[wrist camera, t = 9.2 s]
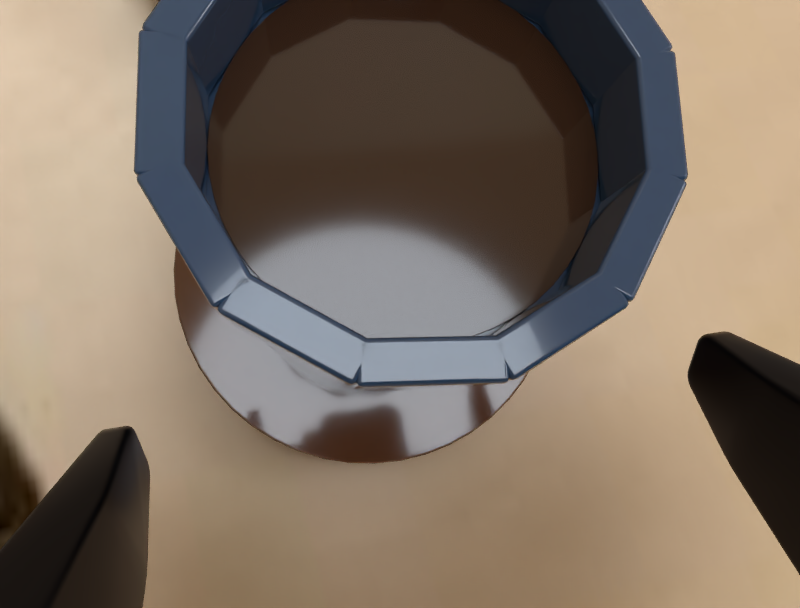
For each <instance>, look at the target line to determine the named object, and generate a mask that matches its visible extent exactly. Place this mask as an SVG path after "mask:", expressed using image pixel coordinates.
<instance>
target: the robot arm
mask: <svg viewBox="0 0 800 608" xmlns="http://www.w3.org/2000/svg"><path fill="white" fill-rule="evenodd" d="M688 381H689V384H690V387H691V389H692V391H693V393H694V395H695V397H696V399H697V401H698V403H699V405H700V407H701V409H702V411H703V413H704V415H705V417H706V419H707V421H708V423H709V425H710V427H711V429H712V431H713V433H714V435H715V437H716V439H717V441H718V443H719V445H720V447H721V449H722V451H723V453H724V455H725V456H726V458H727V460H728V462H729V464H730V466H731V467H732V469H733V471H734V472H735V474H736V476H737V477H738V479H739V480H740V482H741V483H742V485H743V487H744V488H745V490H746V491H747V493H748V494H749V496H750V498H751V499H752V501H753V502H754V504H755V505H756V507H757V509H758V510H759V512H760V513H761V515H762V516H763V518H764V520H765V521H766V523H767V524H768V526H769V527H770V529H771V531H772V532H773V534H774V535H775V537H776V538H777V540H778V542H779V543H780V545H781V546H782V548H783V549H784V551H785V553H786V554H787V556H788V557H789V559H790V560H791V562H792V564H793V565H794V567H795V568H796V570H797V571H798V573H799V575H800V364H798V363H795V362H793V361H791V360H789V359H787V358H785V357H782V356H780V355H778V354H776V353H774V352H771V351H769V350H767V349H765V348H763V347H760V346H758V345H756V344H754V343H752V342H750V341H747V340H745V339H743V338H741V337H739V336H736V335H734V334H732V333H730V332H717V333H711V334H705V335H703V336H702V337H701V338H700V339H699V340H698V343H697V346H696V349H695V351H694V354H693V357H692V360H691V363H690V366H689V369H688ZM149 494H150V471H149V465H148V461H147V459H146V456H145V454H144V452H143V449H142V447H141V444H140V442H139V440H138V437H137V435H136V433H135V431H134V429H133V428H132V427H130V426H123V427H117V428H111V429H105V430H102V431H101V432H100V433H98V434H97V435H96V437H95V438H94V439H93V440H92V441H91V442H90V444H89V445H88V446H87V447H86V448H85V450H84V451H83V452H82V453H81V454H80V456H79V457H78V458H77V459H76V460H75V462H74V463H73V464H72V465H71V466H70V468H69V469H68V470H67V471H66V472H65V473H64V475H63V476H62V477H61V478H60V479H59V481H58V482H57V483H56V484H55V485H54V487H53V488H52V489H51V490H50V491H49V493H48V494H47V495H46V496H45V497H44V498H43V500H42V501H41V502H40V503H39V504H38V506H37V507H36V508H35V509H34V510H33V512H32V513H31V514H30V515H29V516H28V518H27V519H26V520H25V521H24V522H23V523H22V525H21V526H20V527H19V528H18V529H17V531H16V532H15V533H14V534H13V535H12V537H11V538H10V539H9V540H8V541H7V543H6V544H5V545H4V546H3V547H2V548H1V550H0V608H142V607H143V600H144V594H145V586H146V577H147V561H148V528H149Z"/></svg>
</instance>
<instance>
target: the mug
mask: <svg viewBox="0 0 800 608" xmlns="http://www.w3.org/2000/svg"><path fill="white" fill-rule="evenodd" d="M142 29H143V30H141V31H140V32H139V40H138V69H137V98H136V127H135V155H134V172H135V174H136V175H137V182H138V184H139V185H140V187H141V189H142V190H143V192H144V194H145V195H146V197H147V199H148V200H149V202H150V204H151V206H152V207H153V209H154V211H155V212H156V214H157V216H158V217H159V219H160V221H161V222H162V224H163V226H164V228H165V229H166V231H167V233H168V234H169V236H170V238H171V239H172V241H173V243H174V244H175V246H176V252H175V262H174V285H175V298H176V303H177V309H178V314H179V320H180V323H181V326H182V329H183V332H184V335H185V338H186V341H187V344H188V346H189V348H190V350H191V352H192V354H193V356H194V358H195V360H196V362H197V364H198V366H199V368H200V370H201V371H202V373H203V374H204V376H205V377H206V379H207V380H208V381H209V383H210V384H211V386H212V387H213V389H214V390H215V391H216V392H217V393H218V395H219V396H220V397H221V398H222V399H223V400H224V401H225V402H226V403H227V404H228V406H229V407H230V408H231V409H232V410H233V411H235V412H236V413H237V414H238V415H239V416H240V417H242V418H243V419H244V420H245V421H246V422H248V423H249V424H250V425H251V426H253V427H254V428H256V429H257V430H259V431H260V432H262V433H264V434H265V435H267V436H268V437H270V438H272V439H273V440H275V441H277V442H279V443H282V444H284V445H286V446H288V447H290V448H292V449H295V450H297V451H299V452H303V453H306V454H309V455H313V456H316V457H319V458H323V459H328V460H335V461H341V462H347V463H384V462H393V461H401V460H405V459H409V458H413V457H417V456H421V455H425V454H428V453H431V452H433V451H436V450H438V449H441V448H443V447H446V446H448V445H450V444H452V443H454V442H456V441H457V440H459V439H461V438H463V437H464V436H466V435H468V434H470V433H471V432H473V431H474V430H475V429H477V428H478V427H479V426H481V425H482V424H483V423H485V422H486V421H487V420H489V419H490V418H491V417H492V416H493V415H494V414H495V413H496V412H497V411H498V410H499V409H500V408H501V407H502V406H503V405H504V404H505V403H506V402H507V401H508V400H509V399H510V398H511V396H512V395H513V394H514V393H515V391H516V390H517V389H518V387H519V386H520V385H521V383H522V382H523V381H524V379H525V377H526V376H527V374H528V372H529V371H530V370H532V369H533V368H535V367H536V366H538V365H539V364H541V363H542V362H544V361H546V360H547V359H549V358H550V357H552V356H553V355H555V354H556V353H558V352H559V351H561V350H562V349H564V348H566V347H567V346H569V345H570V344H572V343H573V342H575V341H576V340H578V339H579V338H581V337H582V336H584V335H585V334H587V333H589V332H590V331H592V330H593V329H595V328H596V327H598V326H599V325H601V324H602V323H604V322H605V321H607V320H609V319H610V318H612V317H613V316H615V315H616V314H618V313H619V312H621V311H622V310H624V309H625V308H626V307H627V306H628V302H631V301H632V300H633V299H634V298H635V295H636V293H637V291H638V289H639V287H640V285H641V282H642V280H643V278H644V276H645V274H646V272H647V269H648V267H649V265H650V263H651V261H652V259H653V256H654V254H655V252H656V250H657V248H658V246H659V243H660V241H661V239H662V237H663V235H664V233H665V230H666V228H667V226H668V224H669V222H670V220H671V217H672V215H673V213H674V211H675V209H676V207H677V204H678V202H679V200H680V198H681V196H682V194H683V191H684V189H685V187H686V182H685V180H686V179H687V176H688V172H687V162H686V153H685V143H684V134H683V124H682V115H681V106H680V96H679V87H678V77H677V68H676V58H675V53H674V52H673V51H670V50H671V49H672V45H671V43H670V41H669V40H668V38H667V37H666V36H665V34H664V33H663V31H662V30H661V28H660V27H659V25H658V24H657V22H656V21H655V19H654V18H653V16H652V15H651V13H650V12H649V10H648V9H647V7H646V6H645V5H644V3H643V2H642V0H160V1H159V2H158V4H157V5H156V6H155V8H154V9H153V11H152V12H151V14H150V15H149V16H148V18H147V19H146V21H145V22H144V23H143V27H142Z"/></svg>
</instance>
